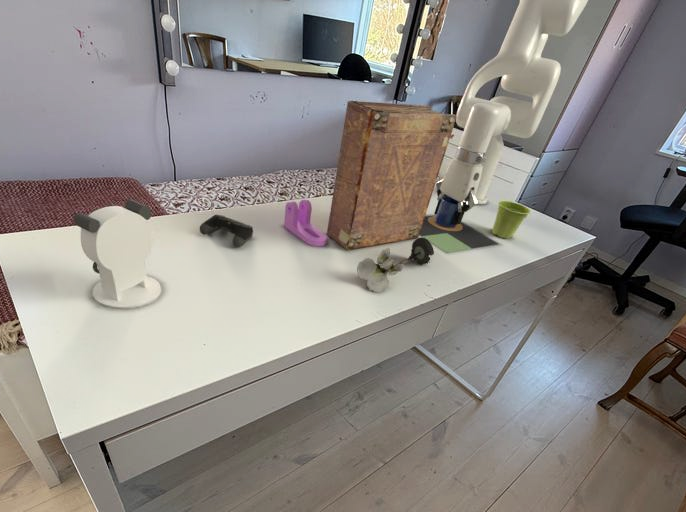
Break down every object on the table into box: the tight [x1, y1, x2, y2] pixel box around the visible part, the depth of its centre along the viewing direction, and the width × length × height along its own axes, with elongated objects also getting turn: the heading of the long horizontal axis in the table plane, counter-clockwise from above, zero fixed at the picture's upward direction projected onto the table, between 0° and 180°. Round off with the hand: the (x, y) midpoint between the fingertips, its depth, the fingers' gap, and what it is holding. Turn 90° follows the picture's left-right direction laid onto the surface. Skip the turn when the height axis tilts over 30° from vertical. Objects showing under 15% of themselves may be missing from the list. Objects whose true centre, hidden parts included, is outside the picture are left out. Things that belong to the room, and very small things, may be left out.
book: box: [326, 100, 457, 251], centre depth 96 cm, size 25×9×30 cm, turn 123°
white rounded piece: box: [73, 198, 162, 310], centre depth 67 cm, size 12×11×15 cm
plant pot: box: [491, 200, 532, 240], centre depth 118 cm, size 9×9×9 cm
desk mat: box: [419, 214, 499, 253], centre depth 116 cm, size 22×22×1 cm
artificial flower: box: [356, 237, 435, 293], centre depth 89 cm, size 9×22×10 cm, turn 130°
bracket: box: [283, 199, 328, 247], centre depth 98 cm, size 13×6×7 cm, turn 37°
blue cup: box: [434, 196, 458, 228], centre depth 119 cm, size 7×7×7 cm
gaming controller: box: [198, 214, 254, 248], centre depth 92 cm, size 12×8×5 cm, turn 63°
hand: (446, 218), depth 120 cm, fingers closed on blue cup, 7 cm apart
